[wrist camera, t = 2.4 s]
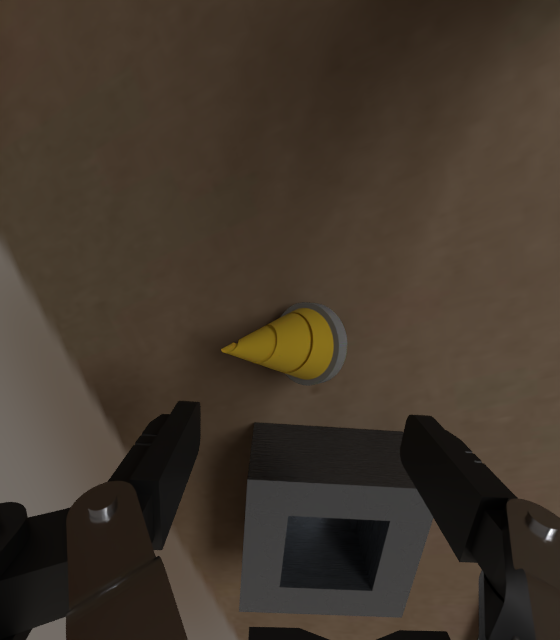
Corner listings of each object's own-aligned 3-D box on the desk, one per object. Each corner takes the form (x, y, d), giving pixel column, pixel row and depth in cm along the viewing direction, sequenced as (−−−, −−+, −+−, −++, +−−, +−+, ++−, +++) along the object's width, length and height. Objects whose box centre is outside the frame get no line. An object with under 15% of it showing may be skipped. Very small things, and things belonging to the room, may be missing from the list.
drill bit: (312, 379, 22) (199, 407, 14) (301, 314, 22) (189, 309, 15) (375, 374, 18) (267, 407, 11) (360, 296, 19) (250, 279, 12)
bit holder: (254, 422, 22) (247, 479, 17) (402, 431, 22) (442, 490, 17) (246, 534, 25) (239, 611, 20) (376, 540, 26) (401, 617, 20)
